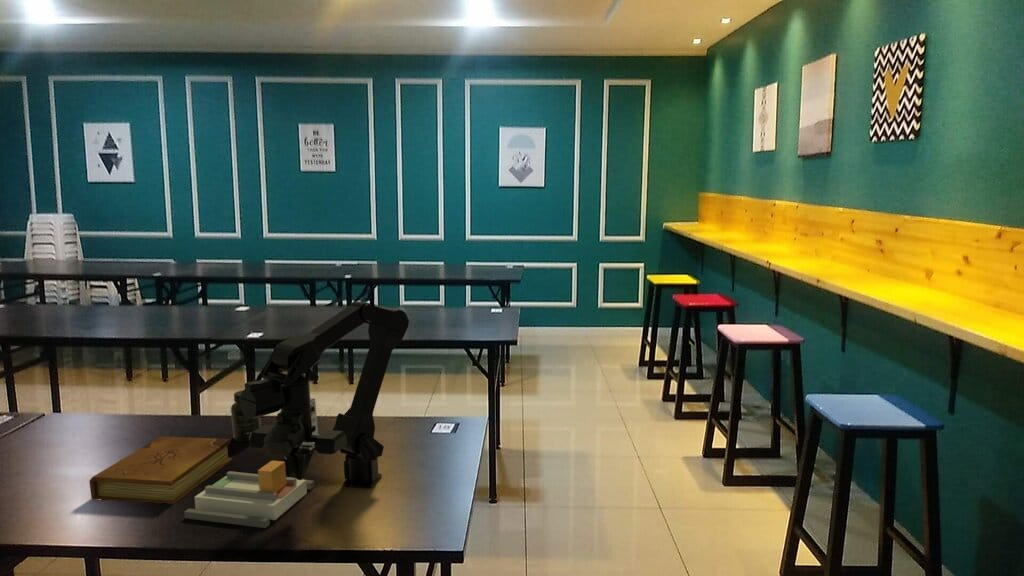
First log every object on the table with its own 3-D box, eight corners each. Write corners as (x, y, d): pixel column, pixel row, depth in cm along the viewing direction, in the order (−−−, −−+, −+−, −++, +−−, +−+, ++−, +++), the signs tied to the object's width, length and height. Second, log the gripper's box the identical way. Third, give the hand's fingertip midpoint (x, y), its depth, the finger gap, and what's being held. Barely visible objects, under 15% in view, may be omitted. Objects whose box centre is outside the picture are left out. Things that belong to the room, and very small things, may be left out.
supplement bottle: (232, 435, 184) (228, 390, 182) (260, 430, 187) (256, 387, 185) (234, 444, 178) (230, 398, 176) (262, 439, 181) (259, 394, 179)
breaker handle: (286, 484, 147) (285, 461, 146) (272, 495, 142) (271, 471, 141) (273, 483, 147) (272, 460, 146) (259, 493, 142) (257, 470, 142)
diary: (160, 458, 171) (157, 436, 170) (232, 462, 168) (230, 439, 167) (91, 501, 148) (88, 475, 147) (174, 506, 146) (171, 479, 145)
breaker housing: (306, 493, 150) (305, 474, 149) (275, 520, 138) (273, 500, 138) (232, 485, 154) (231, 467, 153) (195, 510, 143) (194, 491, 142)
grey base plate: (314, 486, 153) (314, 480, 153) (265, 528, 135) (265, 521, 135) (241, 479, 157) (241, 473, 157) (184, 518, 140) (184, 511, 139)
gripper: (229, 415, 135) (235, 492, 137) (317, 422, 130) (322, 502, 133) (262, 397, 145) (268, 469, 148) (345, 403, 141) (349, 477, 143)
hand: (300, 479), depth 143 cm, fingers closed
